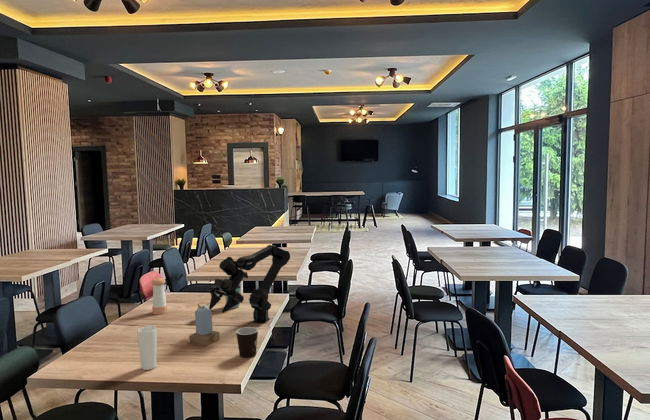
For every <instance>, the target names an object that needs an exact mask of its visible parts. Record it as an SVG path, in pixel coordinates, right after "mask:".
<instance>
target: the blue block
mask: <svg viewBox="0 0 650 420" xmlns="http://www.w3.org/2000/svg"><path fill="white" fill-rule="evenodd" d="M211 310H212V309H206V308H204V309H200V310H194V318H195V319H194V320H195V333H196V334H199V335H202V336H203V335H206V334H210V333H213V331H214V330H213V314H212V313H213V310H212V311H211Z"/></svg>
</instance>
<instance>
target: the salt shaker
mask: <svg viewBox="0 0 650 420" xmlns="http://www.w3.org/2000/svg"><path fill="white" fill-rule="evenodd" d="M150 283H151V285H152V289H153V290H152V294H153V295H152V308H151V310H152V314H153V315H162V314H165V313H167V312H168V305H167V297H166V293H165V283H166V279H165V278H164V277H160V276H156V278H154V279H152V280H151V282H150Z"/></svg>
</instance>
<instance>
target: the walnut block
mask: <svg viewBox="0 0 650 420" xmlns="http://www.w3.org/2000/svg"><path fill="white" fill-rule="evenodd" d="M212 331H213V333H210V334H206V335H203V336H202V335H199V334H196V332H194V333H192V334H190V335H189V336H188V337H189V338H188V339H189V340H188V341H189V345H193V346H199V347H203V348H207V347H209V346H211V345H212V344H214V343H218V341H220V340H221V339H220V338H221V336H220V331H217V330H212Z"/></svg>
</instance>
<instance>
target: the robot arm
mask: <svg viewBox="0 0 650 420" xmlns="http://www.w3.org/2000/svg"><path fill="white" fill-rule="evenodd" d="M270 256H271V262H272V263H271V265H270V267H269V269H268V271H267V272H266V275H265V276H264V277H263V280H262V282H261V284H260V286H259V287H258V288H257V289H256V288H253V289H252V292H251V293H250V295H249V297H248V298H249V299H248V301H249V305H250V306H251V308H252V309H253V312H252V315H253V318H252V319H253V321H252V322H253V323H260V324H261V323H262V324H266V323H267V322H268V321H270V319H271V318H270V317H269V310H270V309H271V308H272V304H271V303H270V302H269V301H268V300H269V293H270V289H271V288H272V286H273V283H274V282H275V280H276V278H277V276H278V274H279V273H280V270H281V269H282V267H284V266H286V264H288V262H289V260H290V259H291V254H290V251H289V250H284V249H282V248H280V247H278V246H276V245H273V244H268V245H267V246H266V247H263V248H261V249H260V250H258V251H256V252H254V253H252V254H249V255H244V256H239V258H237V259H236V260H234V259H233V257H231V256H227V257H226V258H225V259H223V260H221V262H220V263H219V269H220V270H221V271H222V272H224V274H226V275H227V276H229V277H228V278H224V279H219V278H214V282H213V285H211V286H210V287H209V288H208V292H209V294H210V302H209V304H208V306H209V309H210V310H212V309H213V308H214V307H215V306H216V305H217V304H218V303H220V300H221V299H222V297H223V296H224V297H225V296H227V297H228V301H227V303H226V302H225V305H224V306H223V308H222V311H221V312H222V314H225V313H226V312H227V311H230V310H231V309H233V308H232V307H234V306H235V305H237V304H239V303H240V304H243V302H244V300H245V297H244V296H243V295H242V293H241V294H240V293H239V292H237V291H236V290H237V288H238V289H239V288H240V286H239V285H240V283H242V281H243V280H244V279H248V278H249V276H248V272H247V271H251V270H253V269H254V268H255V267H256V265H257V264H258V263H259V262H261V261H263V260H264V259H266V258H268V257H270ZM244 270H245V271H244ZM224 293H225V294H224Z"/></svg>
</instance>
